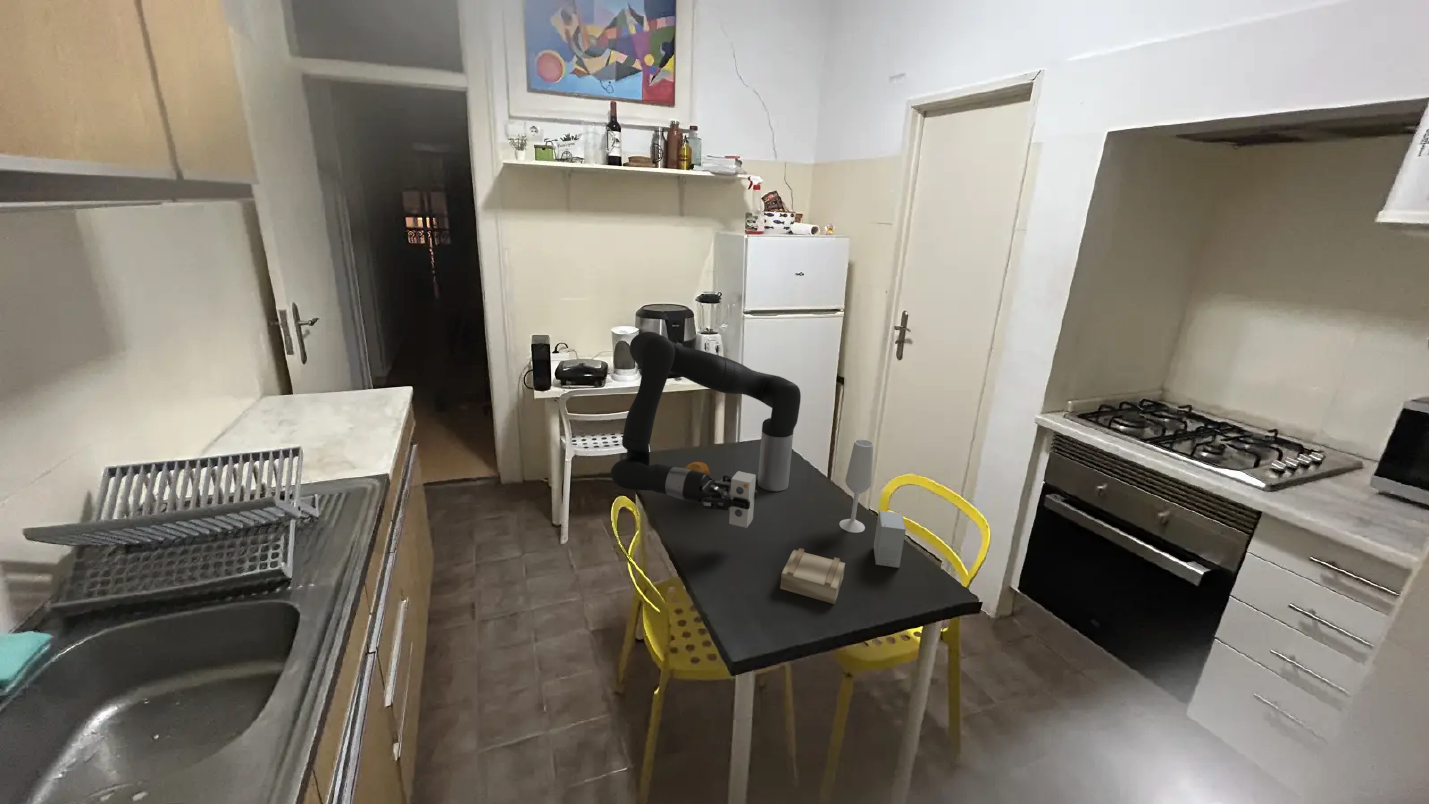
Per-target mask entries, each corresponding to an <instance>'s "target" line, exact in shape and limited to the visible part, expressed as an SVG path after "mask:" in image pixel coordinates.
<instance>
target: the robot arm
mask: <svg viewBox="0 0 1429 804" xmlns="http://www.w3.org/2000/svg"><path fill="white" fill-rule="evenodd" d="M629 354H630V356H631V358H632V360H633V361H634V362H635V364H637V365H638V366H640V367H641V374H640V375H641V378H640V382H639V383H640V384H639V388H638V391H637V393H636V396H635V397H634V400H633V402H632V404H631V405H630V407H629V410H628V413H627V415H626V417H625V423H624V428H623V433H622V439H621V445H622V447H623V448H624V449H625V450H626V456H625V458H623V459H620V460H618V461H617V462H615V463H614V464H613V466H612V467H611V468H610V478H611V479H612V481H613V483H615V485H616V486H618V487H620V488H623V489H625V490H626V489H627V490H633V491H635V490H636V491H652V492H654V493H660V494H663V495H668V496H671V497H673V498H675V499H679V500H683V501H688V502H691V503H695V504H702V508H703V509H704V510H705V509H706V510H715V511H717V510H718V511H729V509H730V508H732V507H738V508H742V509H747V510H748V509H749V508H750V500H747V499H743V498H738V497H735V498H734V497H733V496H731V479H732V478H733V476H729V475H726V474H724V475H722V479H712V477H710V476H711V475H710V476H709V474H707V473H703V472H698V471H694V470H689V469H685V467H674V466H670V465H665V464H662V463H661V464H659V463H657V464H656V463H655V464H651V465H650V461H651V460H650V442H651V438H652V433H653V429H654V425H655V424H654V423H655V418H656V415H657V410H658V407H659V404H660V399H661V397H662V394H663V391H664V389H665V387H666V383H667V380H668V377H669V375H670V372H671V373H674V374H677V375H679V376H681V377H683V378H685V379H687V380H688V381H691V382H693V383H695V384H698V385H699V386H702V387H704V388H706V389H708V390H709V389H710V390H713V391H716V392H720V393H722V394H728V395H729V394H730V395H744V396H747V397H751V398H753V399H754V400H756V401H759V402H761V403H763V404H764V405H766V406H768V407H769V408H771V415H770V417H768V418H766V419H764V420H763V422H762V424H761V436H760V448H759V451H760V452H759V463H758V474H757V485H758V486H759V487H760V488H761V489H763V490H765V491H770V492H781V491H784V490H787V488H788V487H789V481H790V480H789V479H790V472H791V462H792V461H791V460H792V451H793V440H794V439H793V438H794V431H795V427H796V426H797V424H798V420H799V414H800V406H801V401H802V400H801V397H802V396H801V395H802V394H801V390H800V387H799V386H798V385H797V384H796V383H794V382H793V381H790V380H789V379H786V378H785V377H782V376H779V375H774V374H770V373H765V372H761V371H757V370H753V369H751V368H749V367H747V366H746V365H744V364H742V363H740V362H737V361H736V360H732V359H731V358H727V357H724V356H722V355H719V354H715V353H712V352H708V351H704V350H701V349H695V348H692V347H686V346H684V345H680V344H679V343H676V342H674V341H671V340H670V339H669V338H668V337H666V336H663V335H661V334H659V333H657V332H654V331H643V332H640V333H638V334H636V335H635V336H634V337H633V338H632V340H631V341H630V343H629ZM757 498H758V490H757V489H755V495H754V500H756V499H757Z"/></svg>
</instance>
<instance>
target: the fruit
mask: <svg viewBox="0 0 1429 804" xmlns="http://www.w3.org/2000/svg"><path fill="white" fill-rule="evenodd" d="M684 468H685V469H689V470H694V471H698V472H703V473H707V474H709V476H711V473H710V468H709V466H708V464H706V463H704V462H703V461H702V462H701V461H693V462H691V463H688V464H687V465H686V466H685V467H684Z"/></svg>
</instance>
